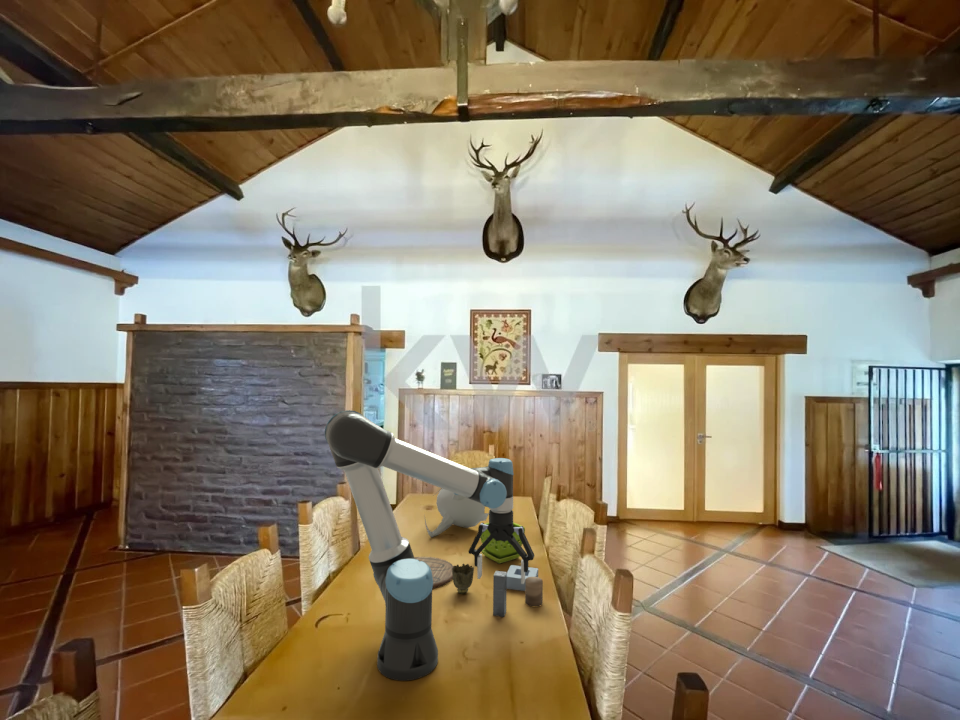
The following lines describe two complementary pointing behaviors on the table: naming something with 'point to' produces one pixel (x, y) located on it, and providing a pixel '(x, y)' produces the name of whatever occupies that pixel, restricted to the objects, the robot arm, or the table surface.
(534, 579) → the brown short cylinder
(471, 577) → the ornate candle holder
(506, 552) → the flower pot
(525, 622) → the table surface
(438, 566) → the trivet
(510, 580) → the bore block
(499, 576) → the square bit
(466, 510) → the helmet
